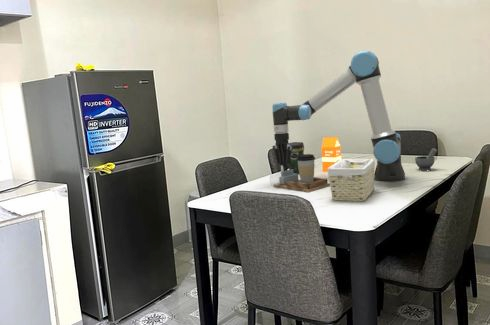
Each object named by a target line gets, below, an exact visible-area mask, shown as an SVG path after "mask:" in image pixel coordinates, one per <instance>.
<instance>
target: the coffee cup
mask: <svg viewBox="0 0 490 325" xmlns="http://www.w3.org/2000/svg"><path fill="white" fill-rule="evenodd" d="M296 160H297V161H298V169H299V174H298V176H299V178H300V179H299V180H301V183H307V184H308V183H312V182H314V177H315V166H316V165H315V160H316V157H315V154H312V153H311V154H310V153H308V154H307V153H306V154H304V155H298V156H297V158H296Z"/></svg>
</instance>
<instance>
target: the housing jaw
mask: <svg viewBox="0 0 490 325" xmlns="http://www.w3.org/2000/svg"><path fill="white" fill-rule="evenodd" d="M280 175H281V176H279V177H278V180H279V181H278V182H279V183H280V184H286V181H292V182H294V181H298V180H299V174H295V173H294V171H293V169H291V170H289V169H287V170H286V171H282V172H281V171H280Z"/></svg>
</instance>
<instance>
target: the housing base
mask: <svg viewBox="0 0 490 325" xmlns="http://www.w3.org/2000/svg"><path fill="white" fill-rule="evenodd" d="M328 181H329V179H328V178H322V177H315V176H314V182H312V183H308V184H307V183H301V179H298V181H294V182H292V181H286V184H280V182H278V183H274V184H273V188H276V189H278V188H279V189H285V190H291V191H297V192H302V191H303V193H311V191H312V192H314V191H318V190H321V189H325V188H328V187H329V188H330V187H331V186H330V182H328Z"/></svg>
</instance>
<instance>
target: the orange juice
mask: <svg viewBox="0 0 490 325" xmlns="http://www.w3.org/2000/svg"><path fill="white" fill-rule="evenodd" d="M341 148H342V147H341V143H340V141H339V139H338V137H337V136H329V137H328V136H327V137H326V136H325V137H323V139H322V144H321V148H320V149H321V163H322V172H325V173H326V172H327V173H328V168H329V167H330V166H332V165H333V164H335V163H336V161H337V160H341V159H342V149H341Z"/></svg>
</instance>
